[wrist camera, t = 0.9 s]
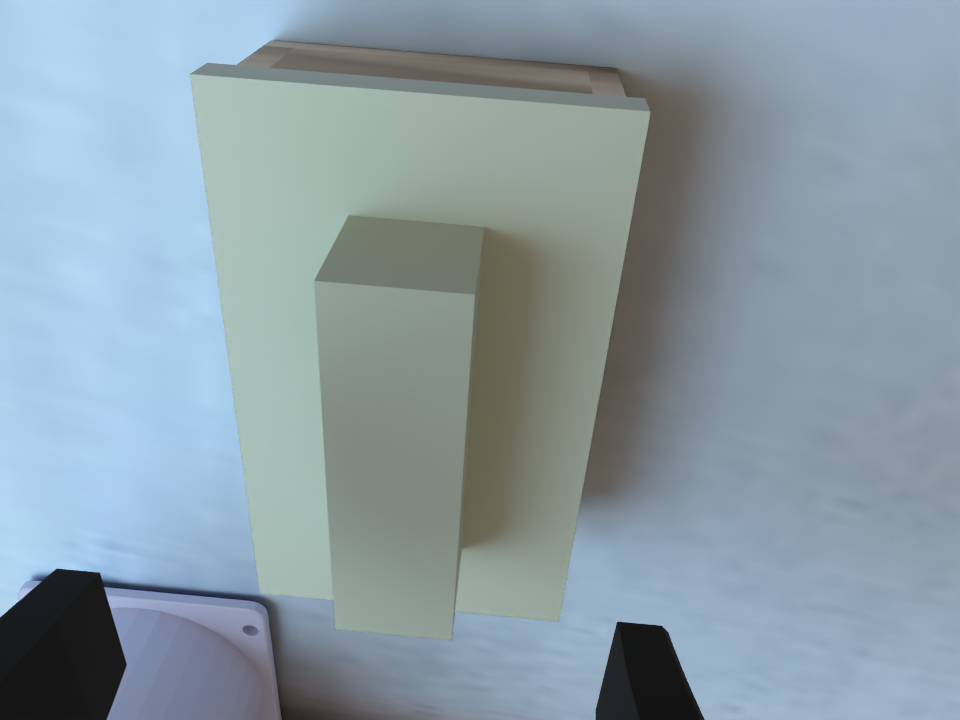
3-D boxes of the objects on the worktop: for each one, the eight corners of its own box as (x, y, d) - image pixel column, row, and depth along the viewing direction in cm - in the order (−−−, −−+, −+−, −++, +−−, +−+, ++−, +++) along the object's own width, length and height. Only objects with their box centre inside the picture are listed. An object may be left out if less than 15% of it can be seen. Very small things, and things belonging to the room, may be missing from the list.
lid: (557, 574, 20) (561, 715, 17) (276, 548, 21) (226, 683, 17) (640, 87, 14) (673, 163, 10) (221, 53, 14) (120, 118, 11)
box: (549, 506, 22) (551, 589, 20) (305, 484, 22) (276, 563, 20) (616, 68, 16) (631, 109, 13) (271, 40, 16) (220, 76, 13)
